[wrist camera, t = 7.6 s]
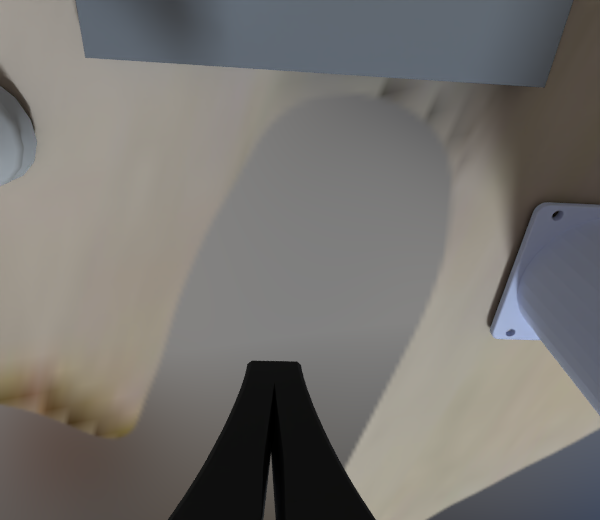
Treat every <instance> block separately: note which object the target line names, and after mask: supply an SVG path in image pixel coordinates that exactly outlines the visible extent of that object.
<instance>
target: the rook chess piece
mask: <svg viewBox="0 0 600 520" xmlns="http://www.w3.org/2000/svg"><path fill="white" fill-rule="evenodd" d="M36 145H37V140H36V137H35V133H34V130H33V126H32V123H31V120H30V118H29V117H28V115H27V114H26V112H25V111H24V109H23V108H22V107H21V105H20V104H19V102H18V101H17V99H16V98H15V97H14V96H12V95H11V94H10V93H9V92H7V91H6V90H5V89H4V88H2V87H1V86H0V186H1V185H4V184H6V183H8V182H11V181H12V180H14V179H16V178H19V177H21V176H23V175H24V174H25V173H26V171H27V170H28V169H29V167H30V166H31V165H32V164H33V162H34V160H35V153H36Z"/></svg>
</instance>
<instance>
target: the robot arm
mask: <svg viewBox="0 0 600 520" xmlns="http://www.w3.org/2000/svg"><path fill="white" fill-rule="evenodd" d="M556 211H559V213H558V214H557V215H556V216H555V217H552V215H553V214H554V213H555V212H556ZM509 329H511V330H510V331H508V330H509ZM507 331H508V332H507ZM490 332H491V334H492V336H493V337H494V338H496V339H518V340H541V341H542V342H543V344H544V345H545V346H546V348H547V349H548V350H549V351H550V353H551V354H552V355H553V356H554V358H555V359H556V360H557V362H558V363H559V364H560V365H561V367H562V368H563V369H564V371H565V372H566V373H567V374H568V376H569V377H570V378H571V379H572V381H573V382H574V383H575V385H576V386H577V387H578V388H579V390H580V391H581V392H582V394H583V395H584V396H585V397H586V399H587V400H588V401H589V402H590V404H591V405H592V406H593V408H594V409H595V410H596V411H597V413H598V414H599V415H600V205H595V204H574V203H552V202H546V203H542V204H540V205H538V206H537V207H536V208H535V210H534V211H533V214H532V216H531V219H530V222H529V225H528V227H527V230H526V233H525V235H524V238H523V241H522V243H521V246H520V249H519V252H518V254H517V257H516V260H515V262H514V265H513V268H512V271H511V273H510V276H509V279H508V281H507V284H506V287H505V289H504V292H503V295H502V298H501V300H500V303H499V306H498V308H497V311H496V314H495V316H494V319H493V322H492V325H491V327H490ZM271 455H272V471H273V484H274V485H273V486H274V501H275V514H276V520H376V519H375V518H374V516H373V515H372V513H371V512H370V510H369V509H368V507H367V506H366V504H365V503H364V501H363V500H362V498H361V497H360V495H359V493H358V492H357V490H356V488H355V487H354V485H353V483H352V482H351V480H350V478H349V477H348V475H347V473H346V472H345V470H344V468H343V466H342V464H341V463H340V461H339V459H338V457H337V455H336V454H335V451H334V449H333V447H332V445H331V444H330V442H329V439H328V437H327V435H326V433H325V431H324V429H323V426H322V424H321V422H320V420H319V418H318V416H317V413H316V411H315V408H314V406H313V403H312V401H311V398H310V395H309V393H308V390H307V387H306V384H305V381H304V378H303V373H302V369H301V365H300V364H299V363H298V362H288V361H251V362H249V363H248V364H247V369H246V374H245V377H244V380H243V383H242V386H241V389H240V391H239V394H238V397H237V399H236V402H235V404H234V406H233V408H232V411H231V413H230V415H229V417H228V419H227V421H226V424H225V426H224V428H223V430H222V432H221V434H220V436H219V437H218V439H217V441H216V443H215V445H214V447H213V449H212V451H211V452H210V454H209V456H208V458H207V460H206V461H205V463H204V465H203V467H202V468H201V470H200V472H199V473H198V475H197V477H196V478H195V480H194V481H193V483H192V485H191V486H190V488H189V489H188V491H187V493H186V494H185V496H184V497H183V499H182V500H181V501H180V503H179V504H178V506H177V507H176V509H175V510H174V512H173V513H172V515H171V516H170V517H169V519H168V520H263V518H264V509H265V500H266V492H267V483H268V474H269V465H270V456H271Z"/></svg>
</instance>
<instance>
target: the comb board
mask: <svg viewBox="0 0 600 520" xmlns="http://www.w3.org/2000/svg"><path fill="white" fill-rule="evenodd" d="M572 3H573V0H76V5H77V11H78V17H79V23H80V29H81V34H82V40H83V46H84V52H85V58H100V59H115V60H131V61H146V62H161V63H177V64H192V65H207V66H222V67H238V68H253V69H268V70H284V71H299V72H314V73H330V74H345V75H360V76H376V77H391V78H406V79H422V80H437V81H452V82H467V83H483V84H498V85H513V86H529V87H545V84H546V81H547V78H548V75H549V72H550V69H551V66H552V63H553V60H554V57H555V54H556V51H557V48H558V45H559V42H560V39H561V36H562V33H563V30H564V27H565V24H566V21H567V18H568V15H569V12H570V9H571V6H572Z"/></svg>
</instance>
